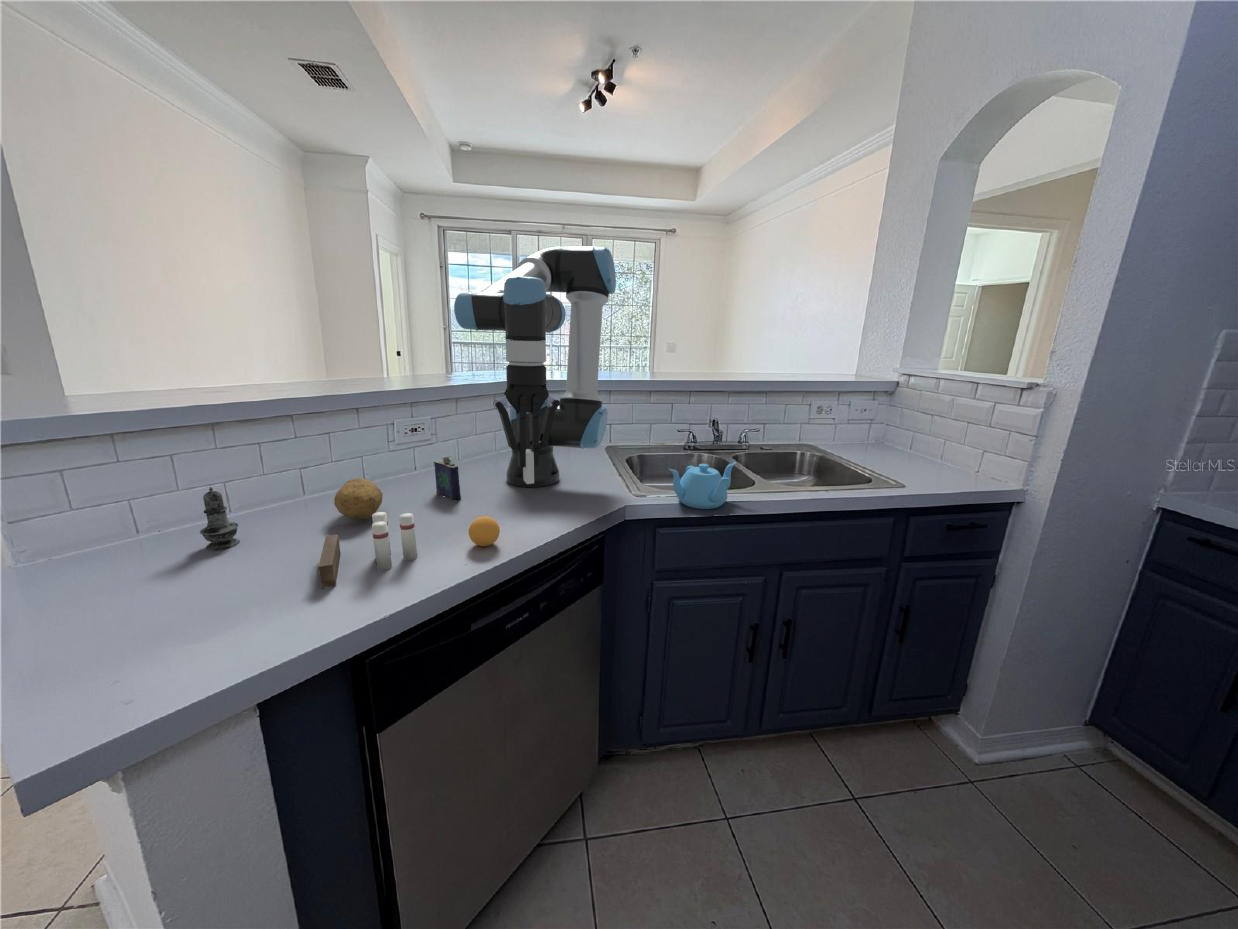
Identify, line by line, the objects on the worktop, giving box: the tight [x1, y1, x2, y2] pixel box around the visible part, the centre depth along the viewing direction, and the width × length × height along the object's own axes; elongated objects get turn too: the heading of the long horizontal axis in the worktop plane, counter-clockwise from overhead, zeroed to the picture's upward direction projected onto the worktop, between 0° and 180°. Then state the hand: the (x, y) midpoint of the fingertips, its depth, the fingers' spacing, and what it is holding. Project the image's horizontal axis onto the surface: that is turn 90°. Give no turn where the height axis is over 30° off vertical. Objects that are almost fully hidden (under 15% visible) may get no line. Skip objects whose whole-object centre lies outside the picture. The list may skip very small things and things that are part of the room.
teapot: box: [668, 461, 737, 510], centre depth 124 cm, size 15×15×10 cm
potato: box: [333, 477, 383, 521], centre depth 109 cm, size 10×14×8 cm
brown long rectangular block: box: [318, 534, 342, 589], centre depth 86 cm, size 2×13×4 cm, turn 26°
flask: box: [433, 455, 462, 502], centre depth 123 cm, size 9×3×11 cm, turn 50°
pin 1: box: [371, 511, 392, 556], centre depth 91 cm, size 2×2×8 cm
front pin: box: [398, 512, 418, 561], centre depth 91 cm, size 2×2×8 cm
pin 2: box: [371, 522, 392, 572], centre depth 87 cm, size 2×2×8 cm
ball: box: [468, 515, 501, 547], centre depth 97 cm, size 6×6×6 cm
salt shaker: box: [199, 486, 241, 552], centre depth 93 cm, size 6×6×12 cm
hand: (528, 481), depth 98 cm, fingers closed
